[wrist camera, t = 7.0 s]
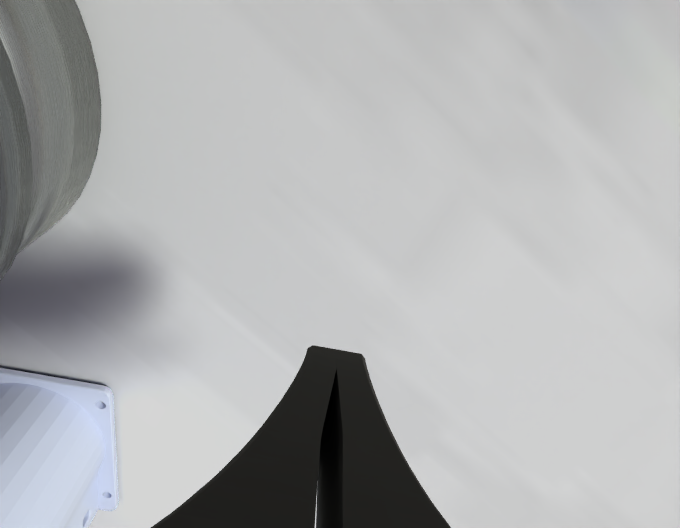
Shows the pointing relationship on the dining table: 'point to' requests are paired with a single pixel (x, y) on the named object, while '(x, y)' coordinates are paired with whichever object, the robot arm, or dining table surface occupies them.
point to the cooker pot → (54, 102)
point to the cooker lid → (13, 165)
